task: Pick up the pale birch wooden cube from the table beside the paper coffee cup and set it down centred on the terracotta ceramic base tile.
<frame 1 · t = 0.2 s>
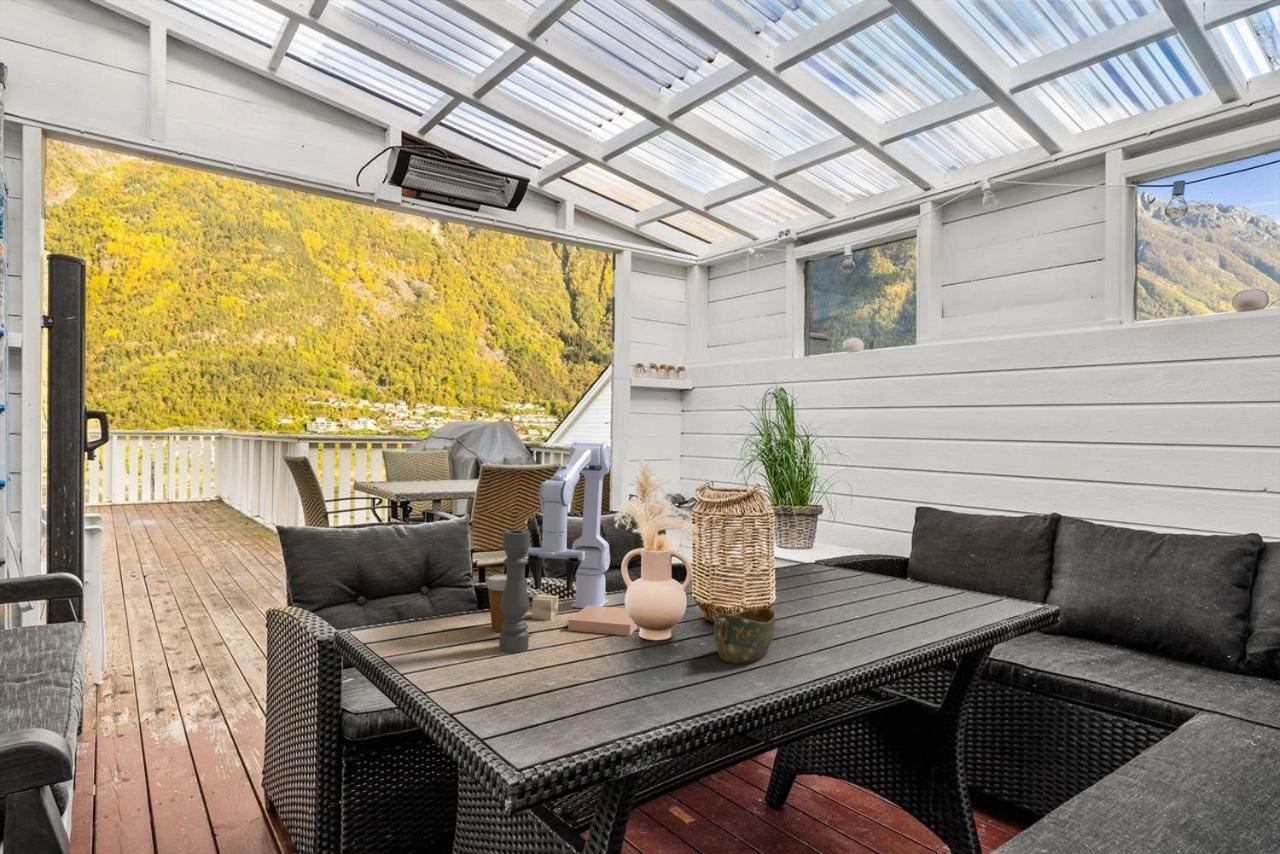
hand: (553, 588, 172), 10 cm above the table, fingers open, 7 cm apart
terracotta base: (607, 624, 178), on the table
candle holder: (513, 649, 157), on the table
creamer: (742, 656, 156), on the table
disposable coffee cup: (505, 629, 172), on the table
birch block: (545, 617, 184), on the table
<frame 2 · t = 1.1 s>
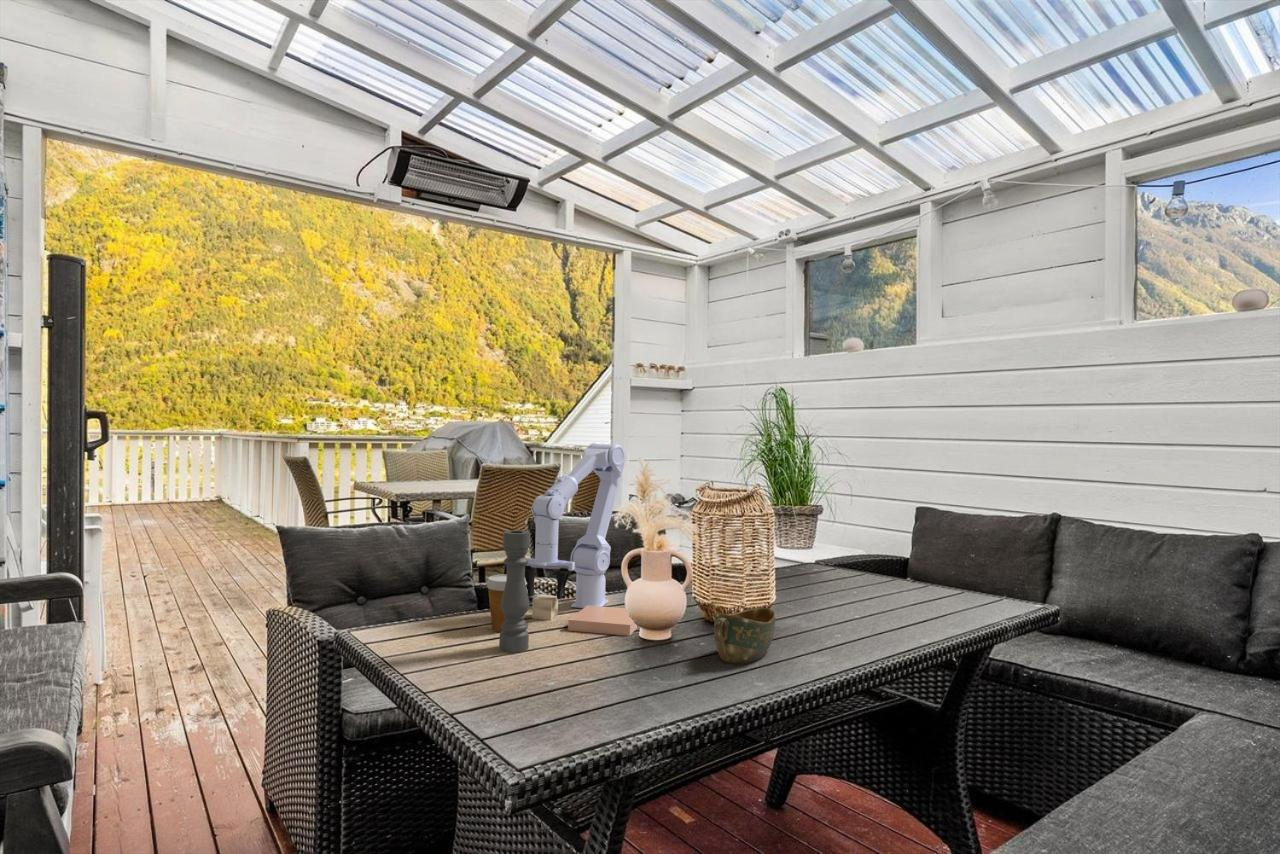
hand: (545, 597, 184), 5 cm above the table, fingers open, 7 cm apart
nothing on the table moved.
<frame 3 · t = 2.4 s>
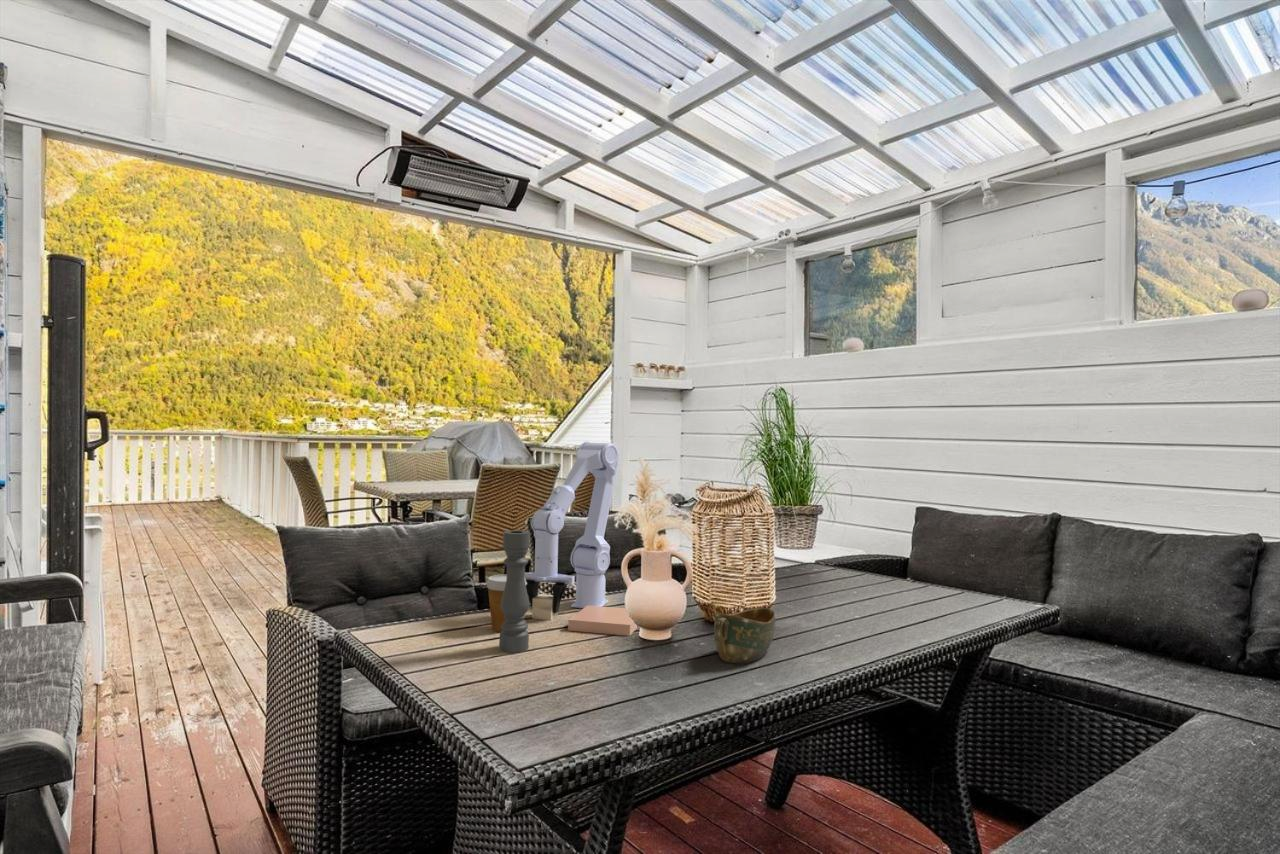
hand: (545, 611, 184), 1 cm above the table, fingers closed on birch block, 5 cm apart
birch block: (545, 616, 184), on the table, touching gripper
everything else where it was.
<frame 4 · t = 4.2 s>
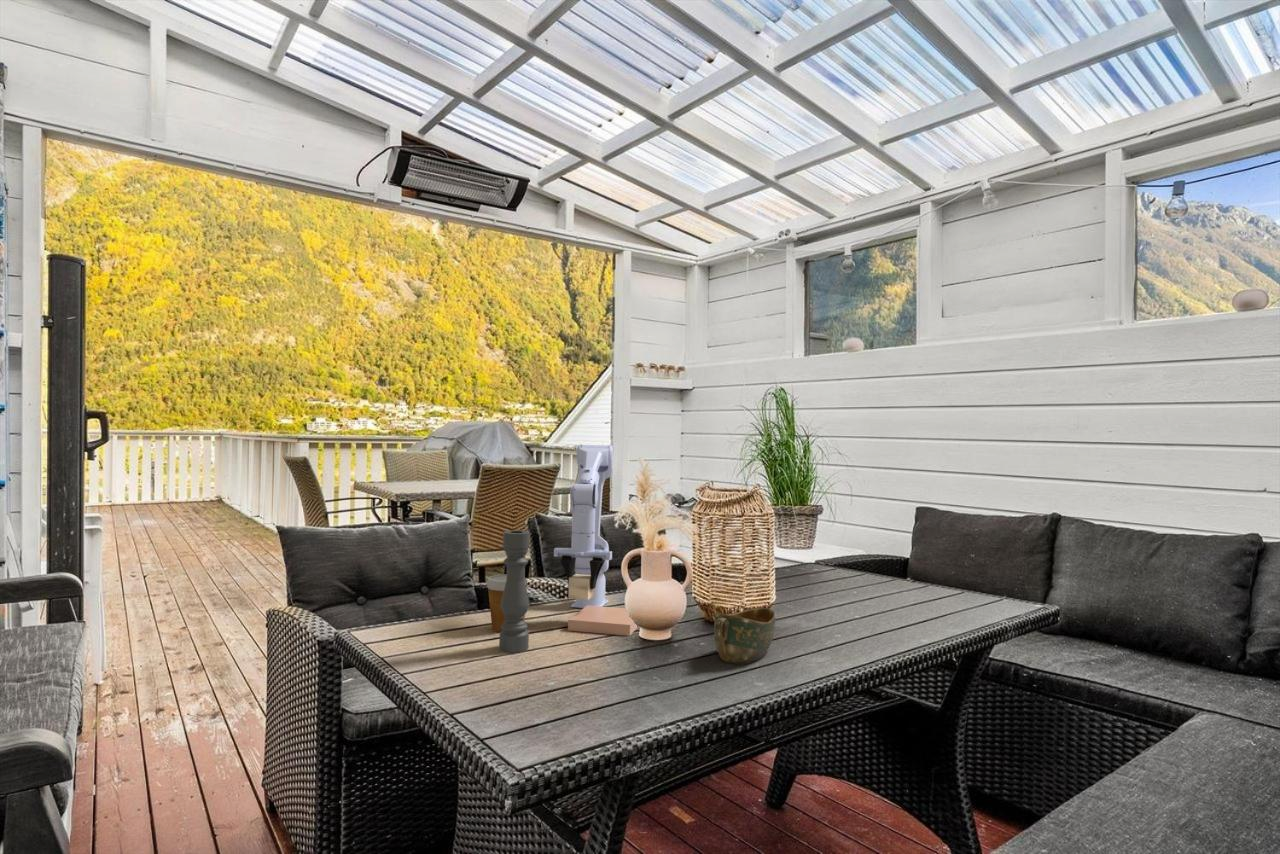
hand: (582, 587, 180), 8 cm above the table, fingers closed on birch block, 5 cm apart
birch block: (581, 596, 180), point 6 cm above the table, touching gripper
everything else where it was.
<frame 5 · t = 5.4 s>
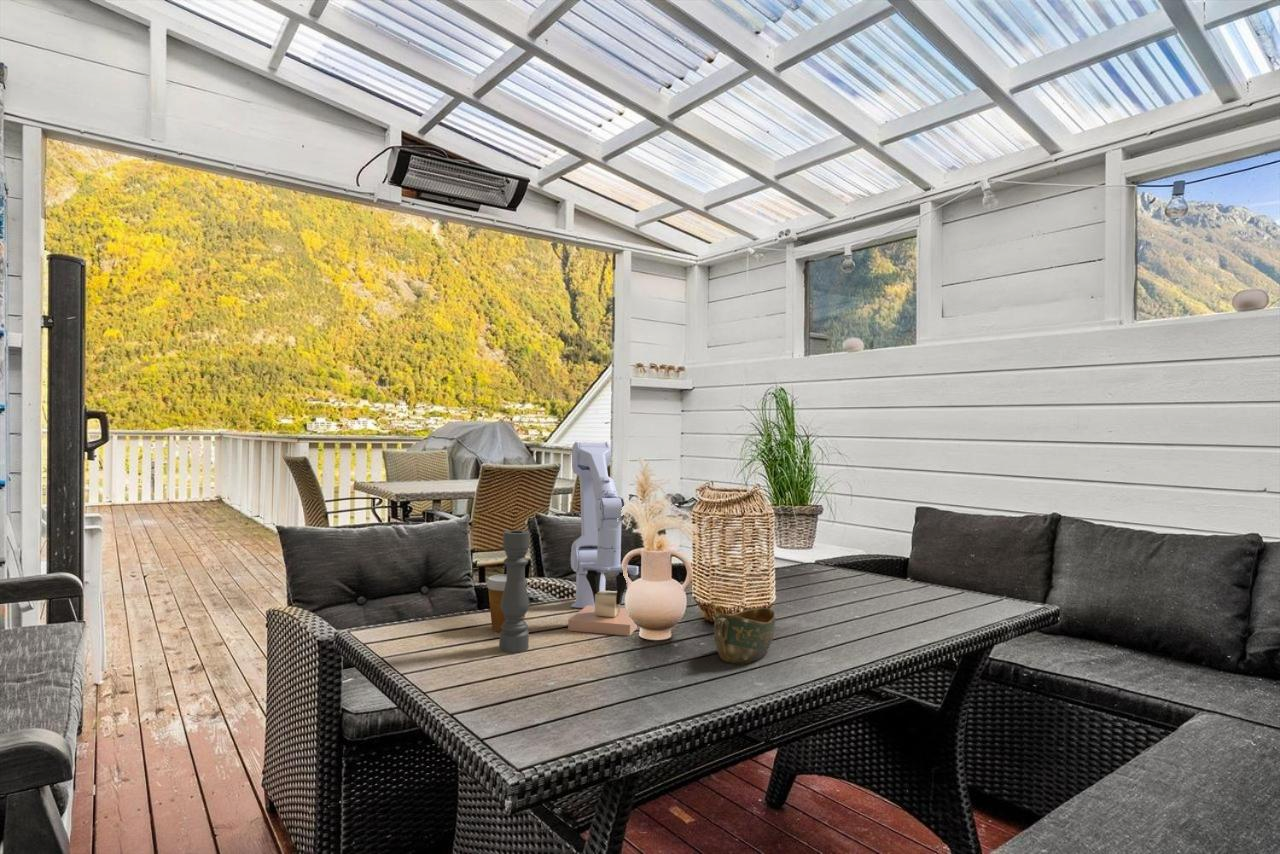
hand: (607, 602, 178), 5 cm above the table, fingers closed on birch block, 5 cm apart
birch block: (607, 613, 177), point 3 cm above the table, touching gripper
everything else where it was.
when the fingers open (5 cm above the table, at t = 6.1 s): birch block stays where it is, resting on terracotta base.
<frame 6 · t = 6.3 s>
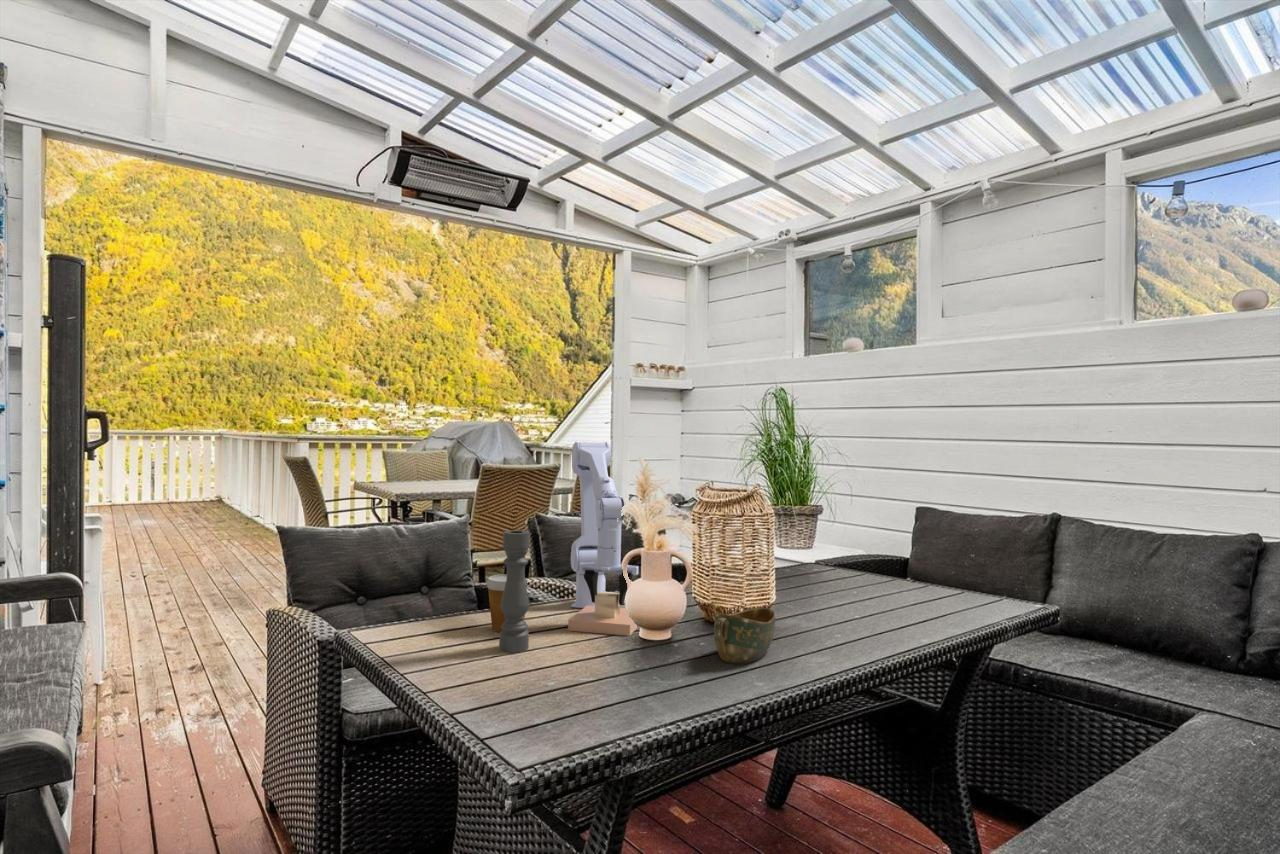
hand: (607, 602, 178), 5 cm above the table, fingers open, 6 cm apart
birch block: (607, 614, 177), point 2 cm above the table, touching terracotta base
everything else where it was.
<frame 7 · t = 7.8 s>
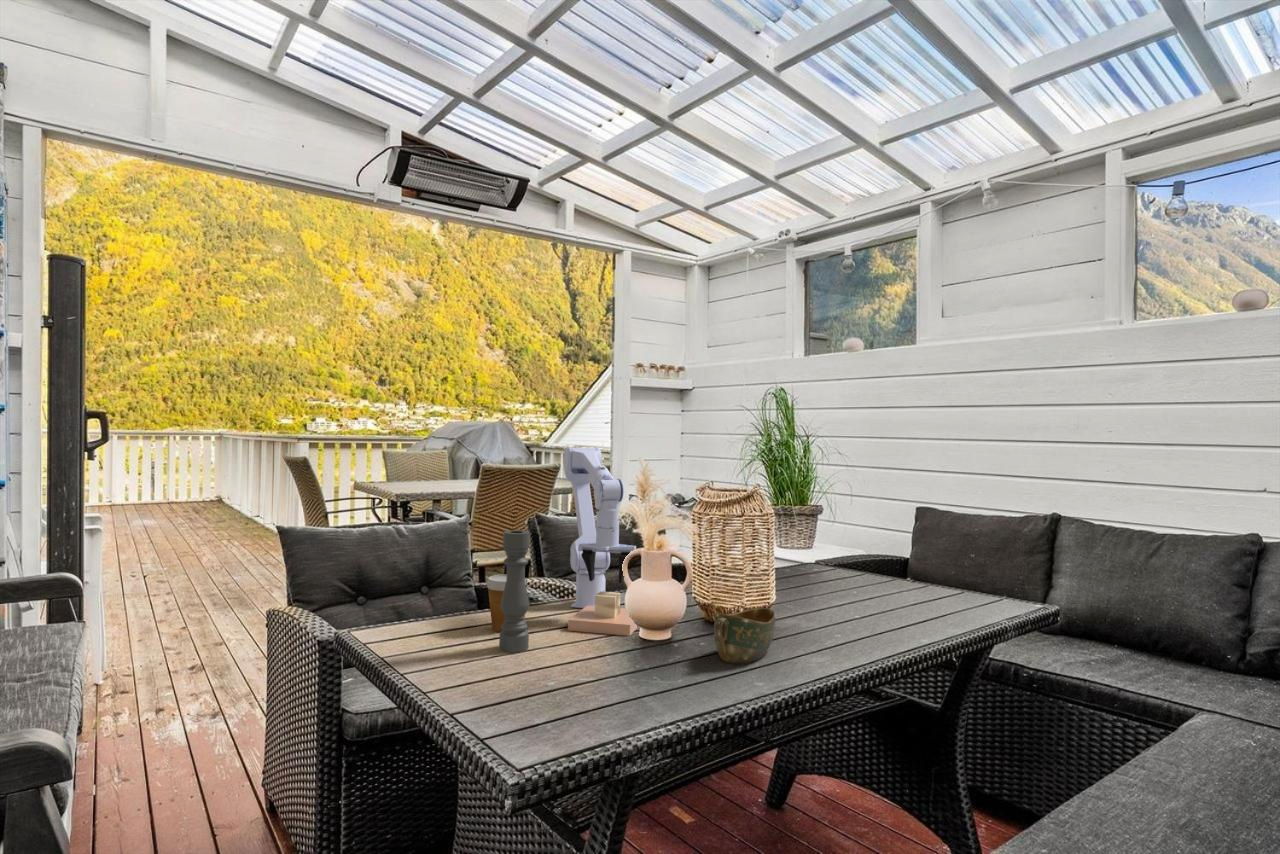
hand: (606, 581, 184), 9 cm above the table, fingers open, 7 cm apart
nothing on the table moved.
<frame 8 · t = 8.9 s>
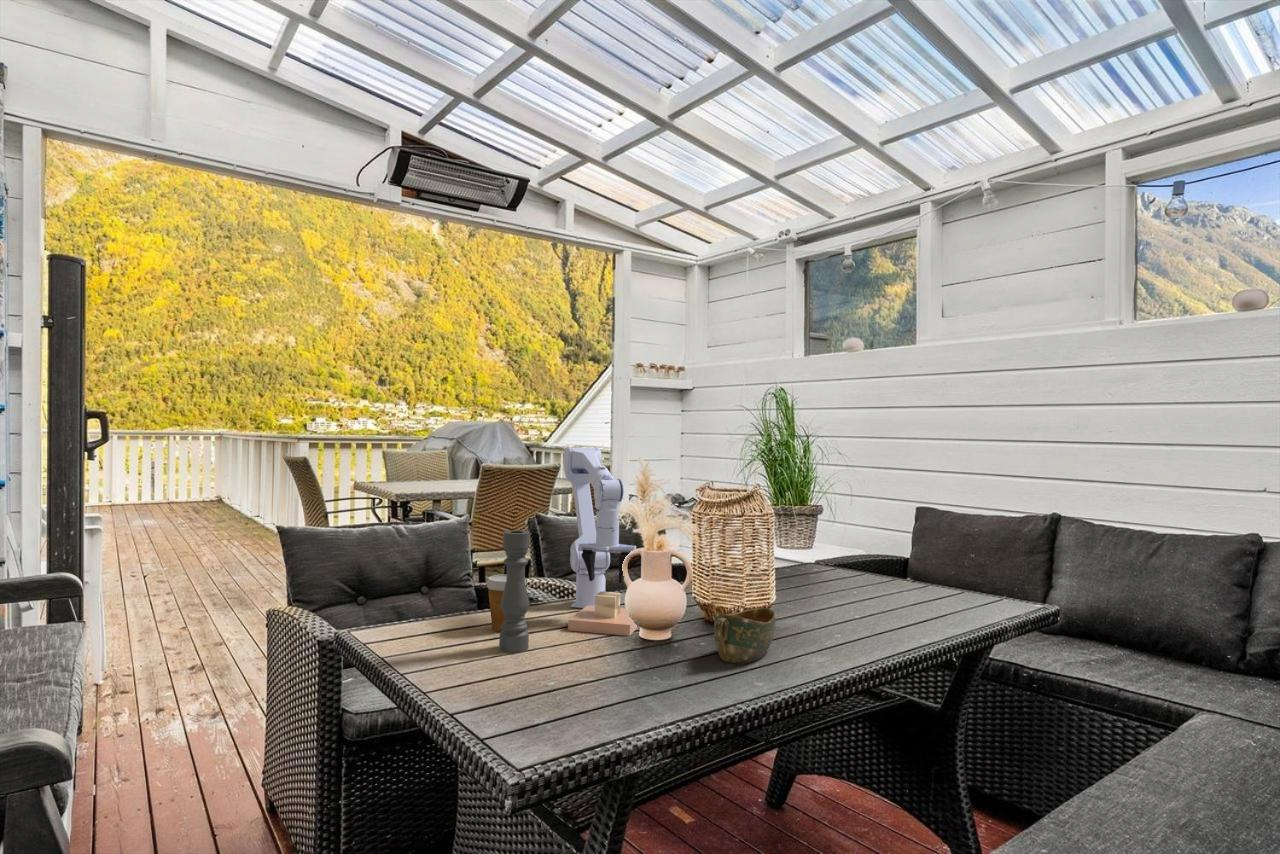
hand: (606, 581, 184), 9 cm above the table, fingers open, 7 cm apart
nothing on the table moved.
at the end: birch block inside the target area on the terracotta base (0.2 cm from its centre), point 2.5 cm above the terracotta base's base; birch block tilted 0°; the gripper is holding nothing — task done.
